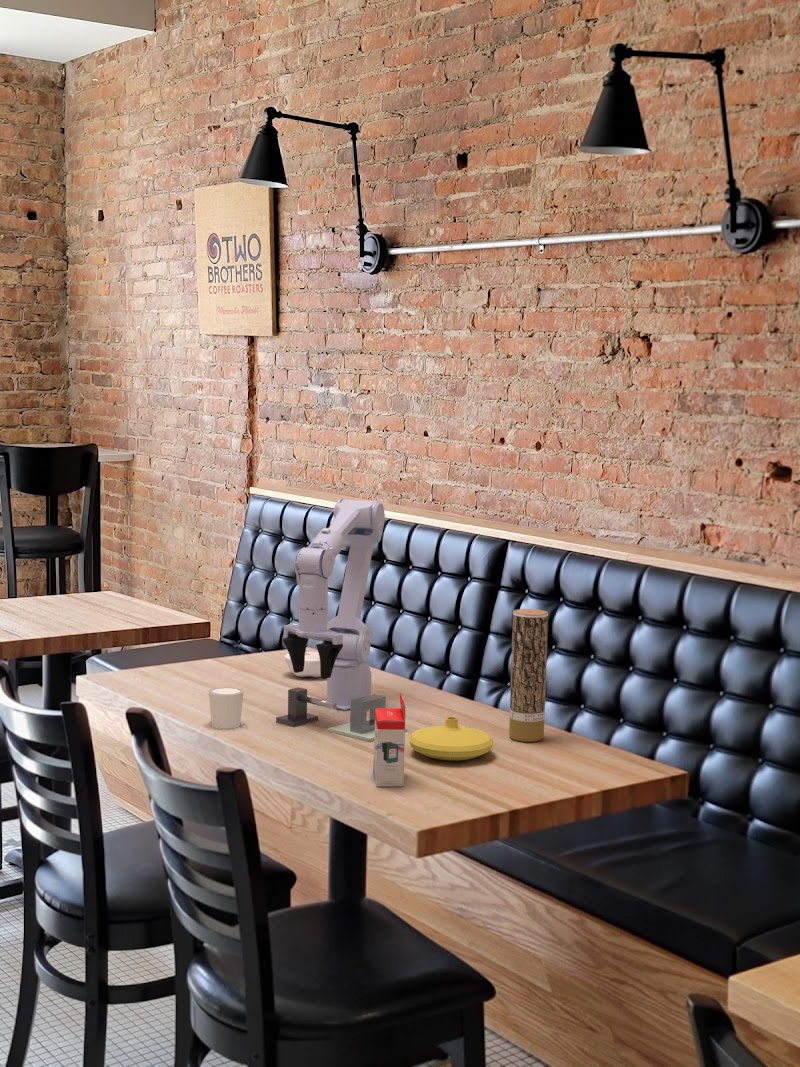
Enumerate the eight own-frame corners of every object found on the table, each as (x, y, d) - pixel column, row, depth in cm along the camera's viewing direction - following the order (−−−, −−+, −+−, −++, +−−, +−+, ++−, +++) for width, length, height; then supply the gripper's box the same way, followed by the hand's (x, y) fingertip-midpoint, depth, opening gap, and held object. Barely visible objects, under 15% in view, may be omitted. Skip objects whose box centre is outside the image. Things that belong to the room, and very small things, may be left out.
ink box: (372, 772, 236) (374, 691, 234) (400, 772, 236) (402, 691, 235) (375, 787, 228) (377, 703, 226) (404, 787, 228) (406, 703, 226)
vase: (478, 771, 238) (480, 733, 238) (396, 761, 244) (396, 723, 243) (503, 749, 253) (504, 713, 252) (424, 740, 258) (425, 704, 258)
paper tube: (547, 736, 263) (551, 610, 260) (539, 744, 257) (543, 616, 254) (513, 732, 265) (517, 607, 262) (505, 740, 259) (509, 613, 256)
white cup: (237, 730, 262) (237, 695, 261) (203, 728, 263) (203, 693, 262) (247, 722, 269) (248, 688, 268) (215, 719, 270) (215, 685, 269)
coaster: (365, 721, 271) (365, 718, 271) (406, 731, 264) (407, 728, 264) (328, 731, 263) (328, 728, 263) (369, 741, 256) (370, 738, 256)
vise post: (300, 716, 274) (301, 684, 273) (346, 727, 266) (346, 695, 265) (276, 722, 269) (276, 690, 268) (321, 734, 261) (322, 701, 260)
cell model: (320, 684, 304) (321, 654, 303) (275, 678, 309) (275, 649, 308) (341, 675, 313) (342, 647, 312) (296, 670, 318) (297, 641, 317)
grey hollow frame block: (373, 724, 266) (374, 694, 266) (385, 727, 264) (385, 696, 264) (350, 731, 261) (350, 700, 260) (361, 734, 259) (362, 702, 258)
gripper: (273, 605, 268) (272, 672, 269) (325, 614, 258) (324, 683, 260) (298, 601, 273) (297, 667, 275) (350, 610, 264) (349, 678, 265)
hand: (312, 675), depth 268 cm, fingers open, 7 cm apart
